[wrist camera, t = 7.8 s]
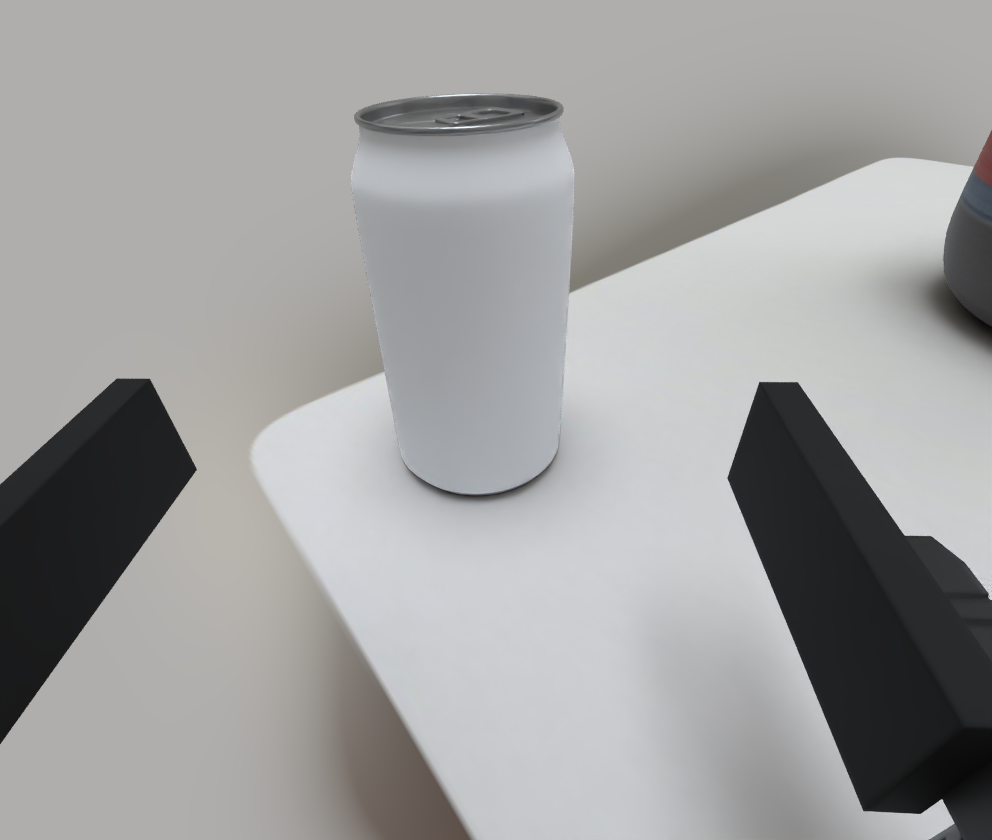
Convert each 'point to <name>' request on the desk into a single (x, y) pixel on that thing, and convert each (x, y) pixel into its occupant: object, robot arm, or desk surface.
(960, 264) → the vase
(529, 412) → the can
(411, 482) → the desk surface
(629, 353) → the desk surface
